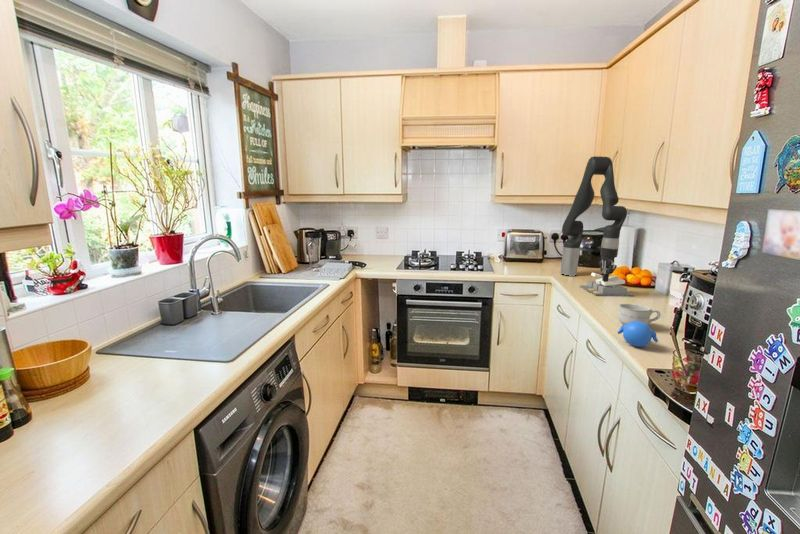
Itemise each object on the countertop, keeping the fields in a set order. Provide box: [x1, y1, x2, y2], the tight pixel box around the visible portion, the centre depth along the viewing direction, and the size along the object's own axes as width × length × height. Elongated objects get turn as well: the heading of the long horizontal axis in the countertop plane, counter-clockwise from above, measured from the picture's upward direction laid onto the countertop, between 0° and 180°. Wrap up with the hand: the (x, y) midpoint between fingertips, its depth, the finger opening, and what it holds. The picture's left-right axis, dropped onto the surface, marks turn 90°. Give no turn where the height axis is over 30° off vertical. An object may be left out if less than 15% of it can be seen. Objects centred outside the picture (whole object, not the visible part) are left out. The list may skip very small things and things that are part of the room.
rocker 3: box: [601, 278, 626, 286], centre depth 195 cm, size 4×10×2 cm, turn 91°
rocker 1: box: [590, 271, 603, 279], centre depth 205 cm, size 4×10×2 cm, turn 91°
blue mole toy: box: [617, 321, 659, 348], centre depth 133 cm, size 12×12×8 cm
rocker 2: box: [595, 275, 620, 284], centre depth 200 cm, size 4×10×2 cm, turn 91°
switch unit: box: [579, 279, 635, 297], centre depth 201 cm, size 17×19×5 cm
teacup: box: [617, 303, 662, 326], centre depth 150 cm, size 14×11×8 cm
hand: (605, 281), depth 194 cm, fingers closed
